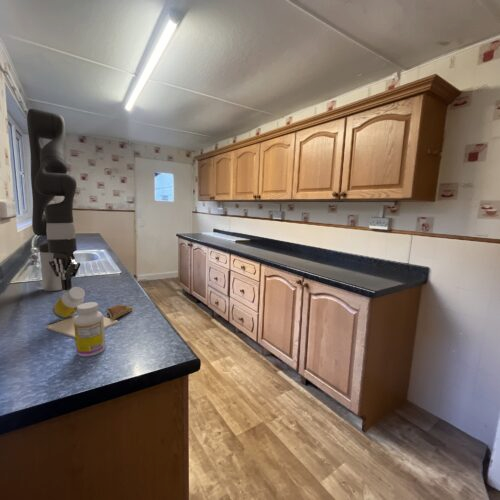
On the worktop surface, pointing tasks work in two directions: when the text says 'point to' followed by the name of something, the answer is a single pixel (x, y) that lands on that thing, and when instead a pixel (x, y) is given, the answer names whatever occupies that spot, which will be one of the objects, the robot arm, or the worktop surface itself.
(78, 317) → the supplement bottle
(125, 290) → the worktop surface
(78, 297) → the pill bottle
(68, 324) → the mat
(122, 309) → the shard
